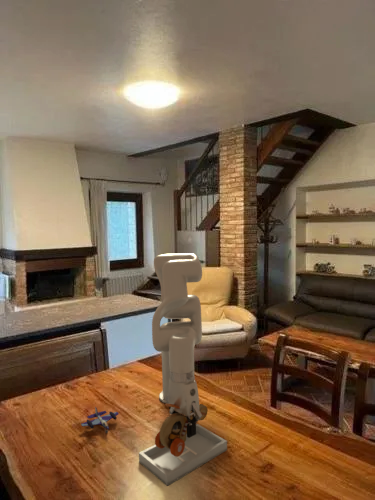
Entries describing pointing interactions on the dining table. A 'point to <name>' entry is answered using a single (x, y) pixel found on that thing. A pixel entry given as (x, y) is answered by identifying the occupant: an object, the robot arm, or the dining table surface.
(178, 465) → the tray
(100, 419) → the toy airplane
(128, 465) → the dining table surface
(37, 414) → the dining table surface
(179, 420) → the toy helicopter
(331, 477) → the dining table surface
